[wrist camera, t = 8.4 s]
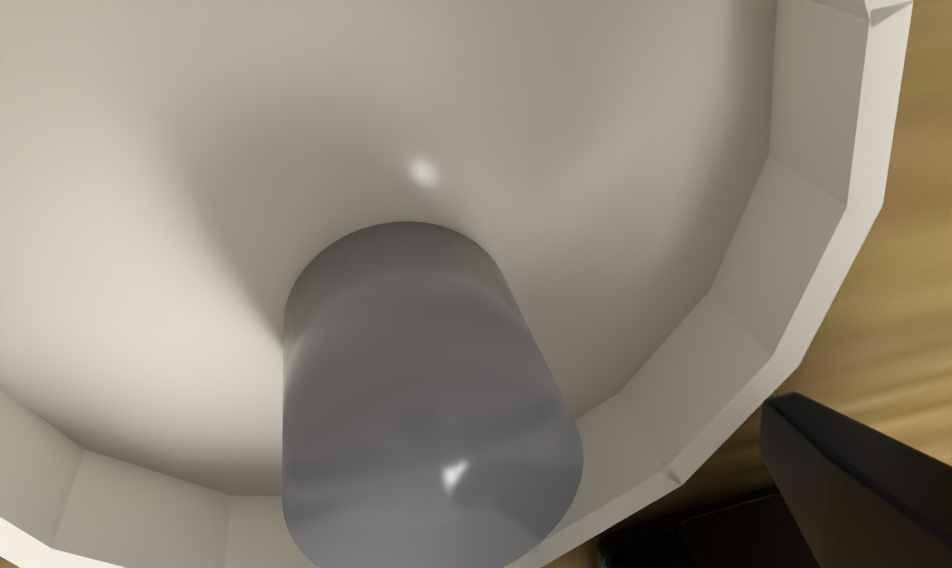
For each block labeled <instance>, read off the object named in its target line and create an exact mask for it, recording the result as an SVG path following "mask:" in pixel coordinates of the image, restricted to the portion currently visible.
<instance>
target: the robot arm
mask: <svg viewBox="0 0 952 568" xmlns="http://www.w3.org/2000/svg"><path fill="white" fill-rule="evenodd" d="M759 448H760V453H761V456H762V458H763V461H764V463H765V465H766V467H767V468H768V470H769V472H770V474H771V476H772V478H773V480H774V482H775V484H776V485H777V486H775V487H772V488H768V489H765V490H761V491H757V492H754V493H750V494H747V495H743V496H740V497H736V498H733V499H729V500H726V501H722V502H719V503H715V504H712V505H708V506H704V507H701V508H697V509H694V510H690V511H687V512H683V513H680V514H676V515H673V516H669V517H666V518H662V519H658V520H655V521H651V522H648V523H644V524H641V525H637V526H634V527H630V528H627V529H623V530H620V531H616V532H613V533H611V534H608V535H606V536H605V537H604V538H602V539H601V540H600V542H599V543H598V544H597V547H596V557H597V566H598V568H952V466H950V465H948V464H946V463H944V462H941V461H939V460H937V459H935V458H933V457H931V456H929V455H927V454H925V453H923V452H921V451H919V450H916V449H914V448H912V447H910V446H908V445H906V444H904V443H902V442H900V441H898V440H896V439H894V438H892V437H889V436H887V435H885V434H883V433H881V432H879V431H877V430H875V429H873V428H871V427H869V426H867V425H864V424H862V423H860V422H858V421H856V420H854V419H852V418H850V417H848V416H846V415H844V414H842V413H839V412H837V411H835V410H833V409H831V408H829V407H827V406H825V405H823V404H821V403H819V402H817V401H814V400H812V399H810V398H808V397H806V396H804V395H802V394H800V393H797V392H787V393H783V394H779V395H776V396H772V397H768V398H766V399H765V400H764V401H763V403H762V407H761V418H760V433H759Z"/></svg>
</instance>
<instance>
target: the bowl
mask: <svg viewBox="0 0 952 568" xmlns="http://www.w3.org/2000/svg"><path fill="white" fill-rule="evenodd" d="M912 6H913V0H0V556H1V557H3V558H5V559H6V560H8V561H10V562H11V563H13V564H15V565H17V566H18V567H20V568H319V567H318V566H316V565H315V564H314V563H313V562H312V561H310V560H309V559H308V558H307V557H306V556H305V555H304V554H303V553H302V551H301V550H300V549H299V548H298V546H297V545H296V544H295V542H294V540H293V539H292V537H291V535H290V533H289V531H288V528H287V525H286V522H285V519H284V515H283V506H282V430H283V323H284V312H285V307H286V303H287V300H288V297H289V294H290V292H291V289H292V287H293V285H294V284H295V282H296V280H297V278H298V277H299V275H300V274H301V272H302V271H303V270H304V269H305V267H306V266H307V265H308V264H309V263H310V262H311V261H312V260H313V259H314V258H315V257H316V256H317V255H318V254H319V253H320V252H321V251H323V250H324V249H325V248H326V247H328V246H329V245H330V244H332V243H334V242H335V241H337V240H339V239H340V238H342V237H344V236H346V235H348V234H350V233H353V232H355V231H357V230H360V229H363V228H366V227H370V226H373V225H377V224H383V223H389V222H401V221H413V222H425V223H430V224H435V225H440V226H443V227H446V228H449V229H452V230H454V231H456V232H458V233H460V234H462V235H465V236H466V237H468V238H469V239H471V240H472V241H474V242H475V243H477V244H478V245H479V246H480V247H482V248H483V249H484V250H485V251H486V252H487V253H488V254H489V255H490V256H491V258H492V259H493V260H494V261H495V262H496V264H497V266H498V267H499V269H500V271H501V272H502V274H503V276H504V278H505V280H506V282H507V284H508V286H509V288H510V290H511V292H512V294H513V296H514V299H515V301H516V303H517V305H518V307H519V309H520V311H521V313H522V315H523V317H524V319H525V321H526V323H527V325H528V327H529V329H530V331H531V333H532V335H533V337H534V340H535V342H536V344H537V346H538V348H539V350H540V352H541V354H542V356H543V358H544V360H545V362H546V364H547V366H548V368H549V370H550V372H551V374H552V376H553V378H554V380H555V383H556V385H557V387H558V389H559V391H560V393H561V395H562V397H563V399H564V401H565V403H566V405H567V407H568V409H569V411H570V413H571V415H572V417H573V419H574V421H575V424H576V426H577V429H578V431H579V434H580V436H581V441H582V446H583V471H582V477H581V481H580V484H579V487H578V491H577V493H576V495H575V497H574V500H573V502H572V504H571V506H570V507H569V509H568V510H567V512H566V514H565V515H564V517H563V518H562V520H561V521H560V522H559V523H558V524H557V526H556V527H555V528H554V529H553V530H552V532H551V533H550V534H548V535H547V536H546V537H545V538H544V539H543V540H542V541H541V542H540V543H539V544H538V545H537V546H535V547H534V548H533V549H532V550H530V551H529V552H528V553H527V554H525V555H523V556H522V557H520V558H519V559H517V560H516V561H514V562H513V563H511V564H509V565H507V566H505V567H504V568H540V567H543V566H545V565H546V564H548V563H550V562H552V561H553V560H555V559H557V558H558V557H560V556H562V555H564V554H565V553H567V552H569V551H570V550H572V549H574V548H576V547H577V546H579V545H581V544H582V543H584V542H586V541H587V540H589V539H591V538H593V537H594V536H596V535H598V534H599V533H601V532H603V531H605V530H606V529H608V528H610V527H611V526H613V525H615V524H617V523H618V522H620V521H622V520H623V519H625V518H627V517H628V516H630V515H632V514H634V513H635V512H637V511H639V510H640V509H642V508H644V507H646V506H647V505H649V504H651V503H652V502H654V501H656V500H658V499H659V498H661V497H663V496H664V495H666V494H668V493H669V492H671V491H673V490H675V489H676V488H678V487H680V486H681V485H683V484H684V483H685V482H686V481H687V480H688V479H689V478H690V477H691V476H692V475H693V473H694V472H695V471H696V470H697V469H698V468H699V467H700V466H701V465H702V464H703V463H704V462H705V461H706V460H707V459H708V458H709V457H710V456H711V455H712V454H713V453H714V452H715V451H716V450H717V449H718V448H719V447H720V446H721V445H722V444H723V443H724V442H725V441H726V440H727V439H728V438H729V437H730V436H731V435H732V434H733V433H734V432H735V431H736V430H737V429H738V428H739V426H740V425H741V424H742V423H743V422H744V421H745V420H746V419H747V418H748V417H749V416H750V415H751V414H752V413H753V412H754V411H755V410H756V409H757V408H758V407H759V406H760V405H761V404H762V403H763V401H764V400H765V399H766V398H768V397H769V396H770V395H771V394H772V393H773V392H774V391H775V390H776V389H777V388H778V387H779V386H780V385H781V384H782V383H783V382H784V381H785V379H786V378H787V377H788V376H789V375H790V374H791V373H792V372H793V371H794V370H795V369H796V368H797V367H798V366H799V365H800V363H801V361H802V359H803V357H804V355H805V353H806V351H807V349H808V347H809V345H810V344H811V342H812V340H813V338H814V336H815V334H816V332H817V330H818V328H819V326H820V324H821V322H822V321H823V319H824V317H825V315H826V313H827V311H828V309H829V307H830V305H831V303H832V301H833V300H834V298H835V296H836V294H837V292H838V290H839V288H840V286H841V284H842V282H843V280H844V278H845V277H846V275H847V273H848V271H849V269H850V267H851V265H852V263H853V261H854V259H855V257H856V255H857V254H858V252H859V250H860V248H861V246H862V244H863V242H864V240H865V238H866V236H867V234H868V232H869V231H870V229H871V227H872V225H873V223H874V221H875V219H876V217H877V215H878V213H879V211H880V209H881V208H882V206H883V200H884V193H885V186H886V180H887V173H888V166H889V160H890V153H891V146H892V140H893V133H894V126H895V120H896V113H897V106H898V100H899V93H900V86H901V80H902V73H903V66H904V60H905V53H906V46H907V40H908V33H909V26H910V20H911V13H912Z"/></svg>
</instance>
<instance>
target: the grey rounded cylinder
mask: <svg viewBox="0 0 952 568" xmlns="http://www.w3.org/2000/svg"><path fill="white" fill-rule="evenodd" d="M582 471H583V446H582V441H581V436H580V434H579V431H578V429H577V426H576V424H575V421H574V419H573V417H572V415H571V413H570V411H569V409H568V407H567V405H566V403H565V401H564V399H563V397H562V395H561V393H560V391H559V389H558V387H557V385H556V383H555V380H554V378H553V376H552V374H551V372H550V370H549V368H548V366H547V364H546V362H545V360H544V358H543V356H542V354H541V352H540V350H539V348H538V346H537V344H536V342H535V340H534V337H533V335H532V333H531V331H530V329H529V327H528V325H527V323H526V321H525V319H524V317H523V315H522V313H521V311H520V309H519V307H518V305H517V303H516V301H515V299H514V296H513V294H512V292H511V290H510V288H509V286H508V284H507V282H506V280H505V278H504V276H503V274H502V272H501V271H500V269H499V267H498V266H497V264H496V262H495V261H494V260H493V259H492V258H491V256H490V255H489V254H488V253H487V252H486V251H485V250H484V249H483V248H482V247H480V246H479V245H478V244H477V243H475V242H474V241H472V240H471V239H469V238H468V237H466V236H465V235H462V234H460V233H458V232H456V231H454V230H452V229H449V228H446V227H443V226H440V225H435V224H430V223H425V222H413V221H401V222H389V223H383V224H377V225H373V226H370V227H366V228H363V229H360V230H357V231H355V232H353V233H350V234H348V235H346V236H344V237H342V238H340V239H339V240H337V241H335V242H334V243H332V244H330V245H329V246H328V247H326V248H325V249H324V250H323V251H321V252H320V253H319V254H318V255H317V256H316V257H315V258H314V259H313V260H312V261H311V262H310V263H309V264H308V265H307V266H306V267H305V269H304V270H303V271H302V272H301V274H300V275H299V277H298V278H297V280H296V282H295V284H294V285H293V287H292V289H291V292H290V294H289V297H288V300H287V303H286V307H285V312H284V323H283V430H282V506H283V515H284V519H285V522H286V525H287V528H288V531H289V533H290V535H291V537H292V539H293V540H294V542H295V544H296V545H297V546H298V548H299V549H300V550H301V551H302V553H303V554H304V555H305V556H306V557H307V558H308V559H309V560H310V561H312V562H313V563H314V564H315V565H316V566H318V567H319V568H504V567H505V566H507V565H509V564H511V563H513V562H514V561H516V560H517V559H519V558H520V557H522V556H523V555H525V554H527V553H528V552H529V551H530V550H532V549H533V548H534V547H535V546H537V545H538V544H539V543H540V542H541V541H542V540H543V539H544V538H545V537H546V536H547V535H548V534H550V533H551V532H552V530H553V529H554V528H555V527H556V526H557V524H558V523H559V522H560V521H561V520H562V518H563V517H564V515H565V514H566V512H567V510H568V509H569V507H570V506H571V504H572V502H573V500H574V497H575V495H576V493H577V491H578V487H579V484H580V481H581V477H582Z"/></svg>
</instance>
